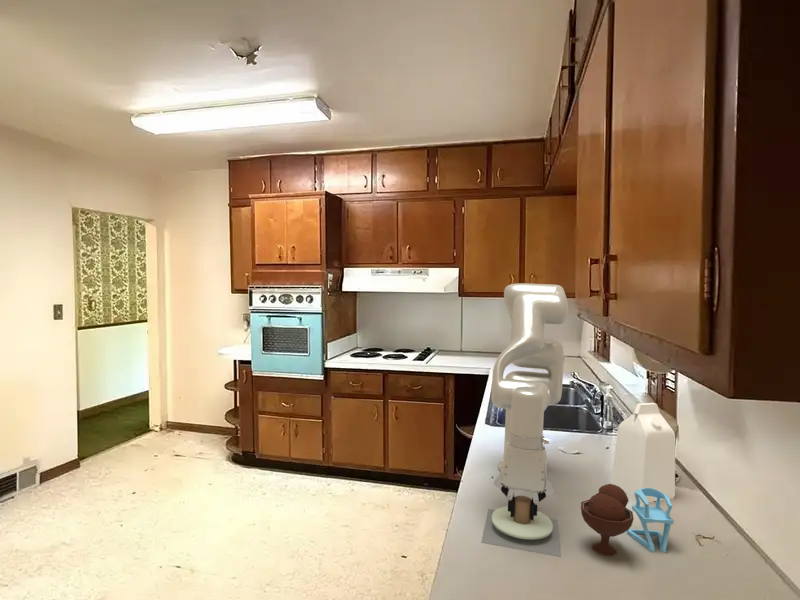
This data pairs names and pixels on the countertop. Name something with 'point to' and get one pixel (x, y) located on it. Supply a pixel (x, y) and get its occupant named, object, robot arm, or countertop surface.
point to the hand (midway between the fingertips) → (522, 515)
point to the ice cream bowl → (607, 516)
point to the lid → (522, 521)
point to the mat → (543, 545)
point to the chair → (652, 518)
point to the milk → (645, 453)
